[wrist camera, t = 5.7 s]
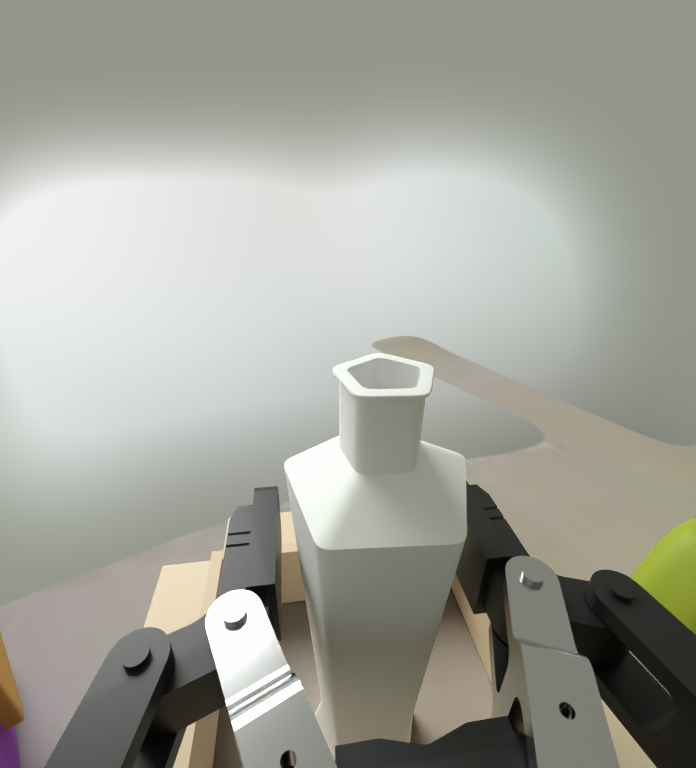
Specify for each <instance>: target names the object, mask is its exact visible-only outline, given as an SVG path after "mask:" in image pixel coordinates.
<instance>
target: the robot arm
mask: <svg viewBox="0 0 696 768" xmlns="http://www.w3.org/2000/svg"><path fill="white" fill-rule="evenodd" d="M466 501H467V536H466V540H465V543H464V546H463V549H462V553H461V556H460V559H459V563H458V566H457V569H456V575H457V578H458V580H459V582H460V585H461V587H462V589H463V591H464V594H465V596H466V598H467V600H468V603H469V605H470V607H471V610H472V612H473V614H481V613H487V616H488V618H489V620H490V625H489V648H490V663H491V678H492V693H493V708H492V717H491V718H490V719H485V720H479V721H473V722H468V723H465V724H463V725H462V726H460V727H458V728H457V729H455V730H453V731H451V732H450V733H448V734H446V735H444V736H443V737H441V738H439V739H438V740H436V741H434V742H432V743H430V744H427V745H421V744H415V743H408V742H401V741H395V740H388V739H382V738H377V739H371V740H366V741H360V742H354V743H349V744H343V745H337V746H335V761H334V759H333V756H332V754H331V752H330V749H329V747H328V745H327V742H326V740H325V738H324V735H323V733H322V731H321V729H320V726H319V724H318V722H317V719H316V717H315V715H314V712H313V710H312V708H311V705H310V703H309V701H308V698H307V696H306V694H305V691H304V689H303V687H302V685H301V682H300V680H299V679H298V677H297V675H296V674H295V673H292V672H291V670H290V668H289V666H288V664H287V661H286V659H285V657H284V654H283V652H282V649H281V647H280V645H279V642H278V641H280V640H281V574H282V534H281V517H280V506H279V495H278V487H277V486H275V487H263V488H255V490H254V500H253V505H247V506H238V508H237V509H236V511H235V512H234V514H233V515H232V517H231V518H230V520H229V527H228V533H227V534H228V535H227V539H226V548H225V552H224V558H223V565H222V571H221V577H220V584H219V590H218V595H217V598H216V600H215V602H214V603H213V604H212V606H211V607H210V609H209V610H208V612H207V613H206V614H205V615H204V616H202V617H201V618H200V619H199V620H197V621H195V622H194V623H192V624H190V625H188V626H185V627H183V628H181V629H179V630H176V631H174V632H172V633H170V634H166V633H165V632H164V631H162V630H161V629H158V628H154V627H146V628H141V629H138V630H135V631H133V632H131V633H129V634H128V635H126V636H125V637H123V638H122V639H121V640H120V641H119V642H118V643H117V644H116V645H115V646H114V647H113V648H112V649H111V651H110V652H109V654H108V655H107V657H106V659H105V660H104V662H103V664H102V666H101V668H100V669H99V671H98V673H97V675H96V676H95V678H94V680H93V682H92V683H91V685H90V687H89V689H88V691H87V692H86V694H85V696H84V698H83V699H82V701H81V703H80V705H79V707H78V708H77V710H76V712H75V714H74V715H73V717H72V719H71V721H70V723H69V724H68V726H67V728H66V730H65V731H64V733H63V735H62V737H61V739H60V740H59V742H58V744H57V746H56V747H55V749H54V751H53V753H52V754H51V756H50V758H49V760H48V762H47V763H46V765H45V767H44V768H173V766H174V763H175V760H176V757H177V754H178V751H179V748H180V746H181V743H182V740H183V737H184V734H185V731H186V728H187V726H189V725H191V724H193V723H194V722H196V721H198V720H200V719H202V718H204V717H206V716H207V715H209V714H211V713H213V712H215V711H217V710H218V709H220V708H222V707H224V706H225V708H226V712H227V716H228V719H229V723H230V727H231V731H232V734H233V738H234V742H235V745H236V749H237V753H238V757H239V760H240V764H241V768H620V766H619V762H618V759H617V755H616V751H615V748H614V744H613V741H612V737H611V733H610V730H609V726H608V722H607V719H606V715H605V712H604V708H603V704H602V701H601V699H602V700H603V701H604V702H605V704H606V705H607V706H608V707H609V709H610V710H611V711H612V712H613V714H614V715H615V716H616V717H617V719H618V720H619V721H620V722H621V724H622V725H623V726H624V727H625V729H626V730H627V731H628V732H629V734H630V735H631V736H632V737H633V739H634V740H635V741H636V742H637V744H638V745H639V746H640V747H641V749H642V750H643V751H644V752H645V754H646V755H647V756H648V757H649V759H650V760H651V761H652V762H653V764H654V765H655V766H656V767H657V768H696V635H695V634H694V633H693V632H692V631H691V630H690V629H689V628H687V627H686V626H685V625H684V624H683V623H682V622H681V621H680V620H678V619H677V618H676V617H675V616H674V615H673V614H672V613H671V612H669V611H668V610H667V609H666V608H665V607H664V606H663V605H662V604H661V603H659V602H658V601H657V600H656V599H655V598H654V597H653V596H652V595H650V594H649V593H648V592H647V591H646V590H645V589H644V588H643V587H641V586H640V585H639V584H638V583H637V582H636V581H634V580H633V579H631V578H630V577H628V576H626V575H624V574H622V573H619V572H616V571H612V570H599V571H597V572H595V573H594V574H593V575H592V577H591V579H590V581H584V580H579V579H573V578H567V577H562V576H558V575H556V574H555V573H554V571H553V570H552V569H551V568H550V567H549V566H547V565H546V564H545V563H543V562H542V561H540V560H538V559H535V558H532V557H530V556H529V554H528V553H527V551H526V550H525V548H524V547H523V545H522V544H521V542H520V541H519V539H518V538H517V536H516V535H515V533H514V532H513V530H512V529H511V527H510V526H509V524H508V523H507V521H506V520H505V519H504V518H503V515H502V513H501V512H500V510H499V509H497V506H496V504H495V503H494V501H493V500H492V498H491V497H490V495H489V494H488V493H486V492H485V491H484V490H483V489H481V488H480V487H479V486H478V485H469V484H468V483H467V481H466ZM629 651H631V652H632V653H633V654H634V655H635V656H636V657H637V658H638V659H639V660H640V661H641V663H642V664H643V665H644V666H645V667H646V668H647V669H648V670H649V671H650V672H651V673H652V674H653V675H654V676H655V677H656V678H657V679H658V681H659V682H660V683H661V684H662V685H663V686H664V687H665V688H666V689H667V690H668V692H669V693H670V695H671V696H672V697H671V696H670V695H669V694H668V693H667V692H666V691H665V690H664V689H663V688H662V687H661V686H660V685H659V684H658V683H657V681H656V680H655V679H654V678H653V677H652V676H651V675H650V674H649V673H648V672H647V671H646V670H645V669H644V668H643V667H642V666H641V664H640V663H639V662H638V661H637V660H636V659H635V658H634V657H633V656H632V655H631V654H630V653H629ZM672 698H673V699H672Z"/></svg>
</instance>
